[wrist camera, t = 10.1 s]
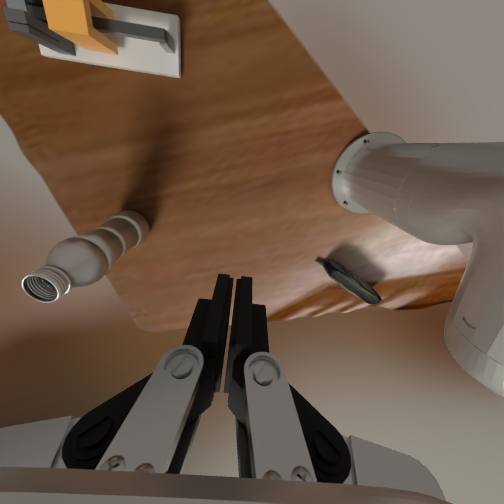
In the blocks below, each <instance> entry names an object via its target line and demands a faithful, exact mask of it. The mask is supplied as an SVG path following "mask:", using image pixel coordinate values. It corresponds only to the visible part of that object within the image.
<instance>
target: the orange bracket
mask: <svg viewBox="0 0 504 504" xmlns="http://www.w3.org/2000/svg"><path fill="white" fill-rule="evenodd" d="M43 5H44V9H45V13H46V18H47V22H48V27H49V29H50V30H52V31H54V32H56V33H57V34H59V35H61V36H63V37H64V38H66V39H68V40H70V41H71V42H73V43H75V44H77V45H78V46H80V47H82V48H84V49H85V50H90V51H96V52H102V53H108V54H114V55H118V47H117V44H115V43H114V42H113V41H111V40H110V39H109V38H107V37H106V36H104V35H103V34H102V33H100V32H99V31H98V30H96V29H95V28H94V27H93V23H92V17H91V16H95V17H101V18H106V19H112V20H114V15H113V11H112V10H111V9H110V8H109V7H108V6H107V5H106V4H105V3H104V2H102V1H101V0H43Z"/></svg>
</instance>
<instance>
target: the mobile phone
mask: <svg viewBox="0 0 504 504" xmlns="http://www.w3.org/2000/svg"><path fill="white" fill-rule="evenodd" d="M316 262H317V263H319V264H321V265H322V266H323V267H324V269H325V270H326V272H327V274H328V275H329V276H330V277H331V278H332V279H333V280H335V281H336V282H337V283H338V284H339V286H340V287H342V288H344V289H345V290H347V291H348V292H350V293H352V294H354V295H355V296H357V297H358V298H360V299H361V300H363V301H365V302H366V303H368V304H377V303H379V302H380V301H381V300H382V299H381V297H380V296H379V295H378V293H377V292H376V291H375V290H374V289H373V288H372V287H371V286H370V285H368V284H367V283H365V282H364V281H362V280H361V279H359V278H358V277H356V276H355V275H353V274H352V273H350V272H349V271H348V270H347V269H346V268H345V267H344V266H342V265H341V264H339V263H337V262H334V261H332V260H328V261H327V262H322V261H320V260H318V259H316Z"/></svg>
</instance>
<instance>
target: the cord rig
mask: <svg viewBox="0 0 504 504" xmlns="http://www.w3.org/2000/svg"><path fill="white" fill-rule="evenodd" d="M6 2H7V6H8V8H7V7H3V10H4V13H5V17H6V20H7V21H9V22H7V23H8V27H9V30H11V31H13V32H15V33H17V34H20V35H22V36H24V37H26V38H28V39H30V40H32V41H34V42H36V43H39V47H40V51H41V55H44V56H46V57H49V58H56V59H62V60H68V61H74V62H81V63H87V64H93V65H99V66H106V67H112V68H118V69H125V70H131V71H137V72H143V73H150V74H156V75H162V76H168V77H175V78H181V42H180V19H179V17H178V16H177V15H172V14H166V13H160V12H155V11H149V10H143V9H138V8H132V7H126V6H121V5H115V4H109V3H105V4H106V5H107V6H108V7H109V8H110V9H111V10H112V11H113V15H114V20H112V19H106V18H101V17H95V16H91V17H92V23H93V27H94V28H95V29H96V30H98V31H99V32H100V33H102V34H103V35H104V36H106V37H107V38H109V39H110V40H111V41H113V42H114V43H115V44H117V47H118V55H114V54H108V53H102V52H96V51H90V50H85V49H84V48H82V47H80V46H78V45H77V44H75V43H73V42H71V41H70V40H68V39H66V38H64V37H63V36H61V35H59V34H57V33H56V32H54V31H52V30H50V29H49V27H48V22H47V18H46V13H45V9H44V5H43V0H6Z"/></svg>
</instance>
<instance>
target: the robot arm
mask: <svg viewBox="0 0 504 504" xmlns="http://www.w3.org/2000/svg"><path fill="white" fill-rule="evenodd" d="M364 139H365V142H364ZM337 170H339V171H338V172H336V171H337ZM331 188H332V193H333V195H334V197H335V199H336V201H337V202H338V203H339V204H340V205H341V206H342V207H344V208H345V209H347V210H349V211H351V212H354V213H370V212H371V213H373V214H375V215H377V216H378V217H380V218H382V219H384V220H385V221H387V222H389V223H391V224H392V225H394V226H396V227H397V228H399V229H401V230H403V231H405V232H406V233H408V234H410V235H412V236H414V237H415V238H417V239H419V240H422V241H424V242H427V243H431V244H437V245H457V244H465V243H470V242H473V246H472V251H471V254H470V257H469V260H468V262H467V265H466V270H465V272H464V275H463V277H462V280H461V282H460V284H459V287H458V289H457V292H456V294H455V297H454V299H453V302H452V304H451V308H450V310H449V313H448V315H447V319H446V322H445V328H444V334H445V340H446V344H447V346H448V349H449V350H450V352H451V354H452V355H453V357H454V358H455V360H456V361H457V362H458V363H459V364H460V365H461V366H462V367H463V368H464V369H465V370H466V371H467V372H468V373H469V374H470V375H471V376H473V377H474V378H475V379H476V380H478V381H479V382H481V383H482V384H483V385H485V386H486V387H488V388H489V389H491V390H492V391H494V392H496V393H497V394H499V395H500V396H502V397H504V142H485V143H412V144H411V143H405V142H404V140H403V139H401V138H400V137H399V136H397V135H395V134H391V133H388V132H375V133H370V134H367V135H364V136H362V137H360V138H358V139H356V140H355V141H353V142H352V143H350V144H349V145H348V146H347V147H346V148H345V149H344V150H343V152H342V153H341V154H340V156H339V157H338V159H337V161H336V163H335V165H334V168H333V171H332V176H331ZM344 201H345V202H344ZM343 202H344V203H343ZM229 277H230V275H226V274H218V278H217V282H216V286H215V289H214V293H213V297H212V300H210V299H200V298H199V300H198V302H197V305H196V308H195V310H194V313H193V316H192V319H191V322H190V325H189V328H188V330H187V333H186V336H185V340H184V342H183V345H181V346H177V347H175V348H173V349H171V350H170V351H168V352H167V353H166V354H165V355H164V357H163V358H162V359H161V361H160V363H159V364H158V366H157V367H156V369H155V371H154V372H153V373H152V374H150V375H149V376H147V377H145V378H144V379H142V380H140V381H139V382H137V383H135V384H134V385H132V386H130V387H129V388H127V389H126V390H124V391H122V392H121V393H119V394H117V395H116V396H114V397H113V398H111V399H109V400H108V401H106V402H105V403H103V404H101V405H100V406H98V407H96V408H95V409H93V410H91V411H90V412H88V413H87V414H86V415H84V416H83V417H80V418H75V419H74V418H73V416H68V417H62V418H56V419H51V420H45V421H39V422H33V423H28V424H22V425H16V426H11V427H5V428H0V504H452V503H449V502H447V501H446V500H445V497H444V495H443V492H442V490H441V488H440V486H439V484H438V483H437V480H436V479H435V477H434V476H433V475H432V474H431V473H430V471H429V470H428V469H427V468H426V467H425V466H424V465H423V464H422V463H421V462H420V461H419V460H417V459H415V458H413V457H411V456H409V455H406V454H403V453H400V452H397V451H395V450H392V449H389V448H386V447H383V446H380V445H378V444H375V443H372V442H369V441H366V440H363V439H360V438H358V437H355V436H351V435H350V436H349V438H348V437H346V436H342V435H341V434H340V433H339V432H338V430H337V429H336V428H335V427H334V426H333V425H332V424H331V423H330V422H329V421H327V420H326V419H325V418H324V417H323V416H322V415H321V414H320V413H319V412H318V411H317V410H316V409H315V408H314V407H313V406H312V405H311V404H310V403H309V402H308V401H307V400H306V399H305V398H304V397H303V396H301V394H299V393H298V392H297V391H296V390H295V389H294V388H293V387H292V386H291V385H290V384H289V383H288V380H287V377H286V373H285V370H284V368H283V365H282V363H281V362H280V361H279V359H278V358H277V357H275V356H274V355H272V354H270V353H269V345H268V332H267V319H266V307H265V305H259V304H252V277H245V276H241V279H237V282H236V291H235V299H234V308H233V316H232V325H231V334H230V342H229V351H228V360H227V368H226V377H225V385H224V393H229V396H228V407H229V409H230V410H231V411H232V412H233V414H234V415H235V416H236V418H235V424H236V440H237V454H238V470H239V478H237V477H219V476H202V475H183V471H184V468H185V465H186V462H187V459H188V456H189V453H190V450H191V447H192V443H193V440H194V437H195V434H196V431H197V428H198V425H199V422H200V419H201V414H202V413H203V412H204V411H205V410H206V409H207V408H209V407H210V406H211V403H212V401H213V397H214V392H219V391H220V383H221V375H222V369H223V361H224V354H225V347H226V339H227V332H228V324H229V316H230V307H231V297H232V288H233V278H229Z"/></svg>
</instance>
